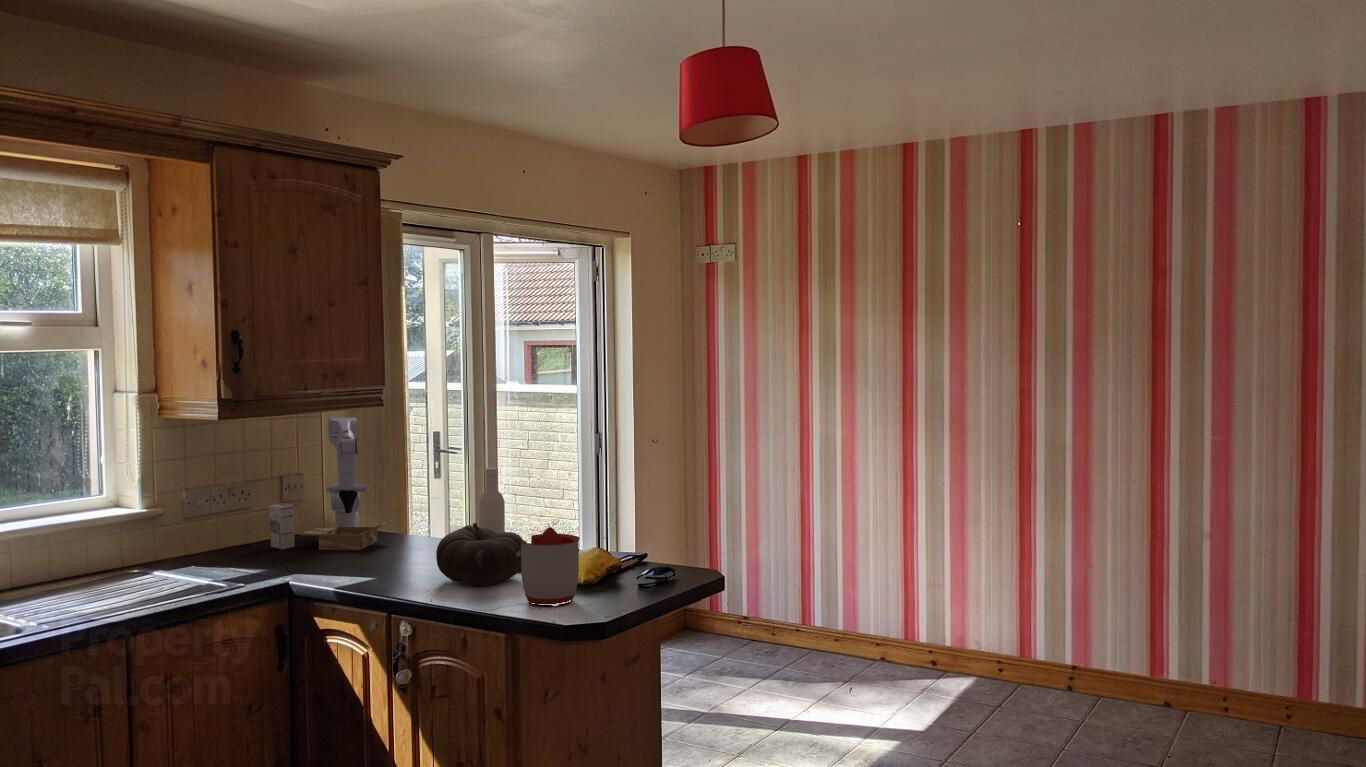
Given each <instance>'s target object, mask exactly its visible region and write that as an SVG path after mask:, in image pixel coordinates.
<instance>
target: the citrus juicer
mask: <svg viewBox="0 0 1366 767" xmlns="http://www.w3.org/2000/svg"><path fill="white" fill-rule="evenodd" d="M522 539H523V538H522ZM522 539H520V551H518V552H517V554H516V556H520V558H521V569H520V572H521V582H522V588H523V590H524V595H525V598H526V600H527V602H528V601H529V602H531V603H535V604H556V603H562V602H567V601H569V600H572V599H573V600H574V597H575V595H576V591H577V587H578V582H579V575H580V574H579V571H580V569H579V566H580V565H579V564H580V563H579V561H580V560H579V559H580V555H579V554H580V553H579V551H580V550H579V549H580V548H579V545H580V544H579V541H580V537H579V536H578V535H573V534H568V533H558V532H557V531H556V530H555V529H554V528H552V527H551V526H549V527H548V528H546V529H545V530H544V531H543V532H542V533H539V534H537V533H536V534H532V535H531V538H530V540H531V541H530V543H529V542H527V541H526V540H524V539H523V540H522ZM573 600H572V601H573ZM529 602H528V603H529Z"/></svg>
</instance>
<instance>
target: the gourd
mask: <svg viewBox="0 0 1366 767" xmlns="http://www.w3.org/2000/svg"><path fill="white" fill-rule="evenodd" d="M520 539H522V540H524V539H523V537H522V536H521V535H519V534H518V533H515V532H512V531H505V532H502V533H497V532H494V531H492V530H490V529H487V528H483V529H482V528H481V527H479V525H478V523H477V522H473V523H472V524H468V525H467V524H466V525H464V526H463V527H461V528H458V529H456V530H454V531H452V532H449V533H448V534H446V535H445V536H444V537H443V538H441V540H440V541H439V543H438V545H437V547H436V552H435V553H436V554H435V555H436V556H435V557H436V565H437V567H438V570H439V571H440V572H441V573H442V574H443V575H444V576H445V577H446V578H448V579H449V580H451V581H453V582H456V583H465V584H467V585H469V584H470V585H471V586H490V585H489V584H491V585H496V584H498V583H502V582H504V581H506V580H509V579H511V578H513V577H515V575H517V574H518V573H519V572H521V558H520V556H516V554H517V552H518V551H520ZM495 583H496V584H495Z"/></svg>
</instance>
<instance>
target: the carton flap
mask: <svg viewBox="0 0 1366 767" xmlns="http://www.w3.org/2000/svg"><path fill="white" fill-rule="evenodd" d="M394 520H395V518H392V519H388V521H385V522H383V523H380V524H378V525H376V526H373V527H374V528H372V529H370V530H369V531H367V532H365V533H363V534H361V536H362V535H364V534H367V533H369V532H371V531H373V530H375V529H377V530H378V529H379V528H380V527H383V526H385V525H387V524H388V523H391V522H393V521H394Z"/></svg>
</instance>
